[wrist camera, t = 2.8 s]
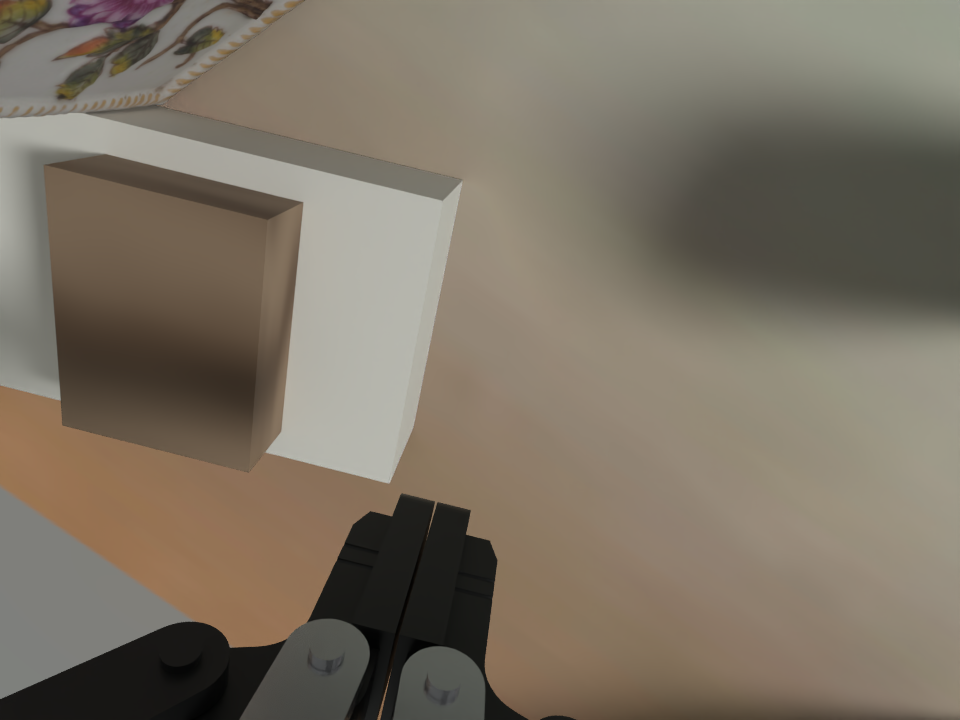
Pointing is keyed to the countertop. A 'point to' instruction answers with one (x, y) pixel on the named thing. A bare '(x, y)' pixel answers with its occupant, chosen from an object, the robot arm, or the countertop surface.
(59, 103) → the decorative jar
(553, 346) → the countertop surface
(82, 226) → the walnut tile
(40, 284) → the block
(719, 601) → the countertop surface
